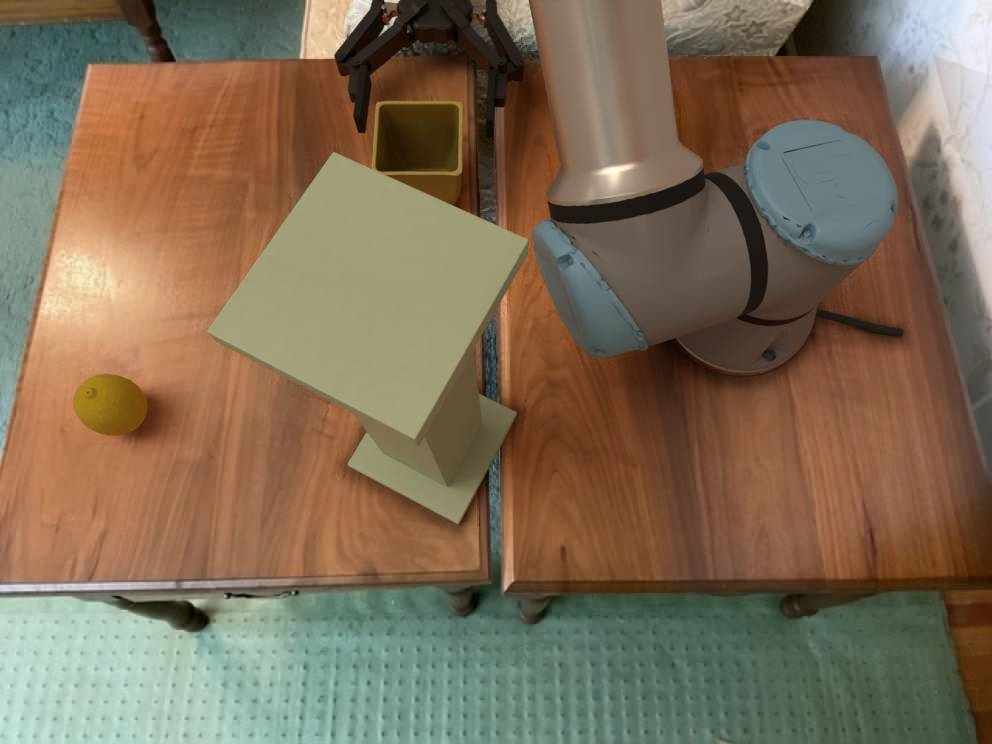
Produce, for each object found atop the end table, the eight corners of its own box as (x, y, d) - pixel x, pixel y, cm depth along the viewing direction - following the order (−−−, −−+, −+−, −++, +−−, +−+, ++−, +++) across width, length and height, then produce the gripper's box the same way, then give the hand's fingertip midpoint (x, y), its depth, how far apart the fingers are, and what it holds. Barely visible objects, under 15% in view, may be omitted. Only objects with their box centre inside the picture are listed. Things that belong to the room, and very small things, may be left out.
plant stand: (517, 415, 68) (529, 239, 36) (458, 525, 65) (415, 440, 33) (411, 362, 70) (333, 150, 38) (348, 466, 67) (205, 331, 35)
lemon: (102, 446, 68) (51, 425, 60) (108, 391, 69) (60, 364, 62) (159, 442, 68) (116, 420, 60) (164, 388, 69) (122, 360, 62)
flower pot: (467, 155, 78) (463, 99, 70) (466, 223, 75) (462, 173, 67) (389, 156, 78) (375, 100, 70) (385, 224, 75) (370, 174, 67)
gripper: (546, 2, 83) (542, 153, 76) (337, -3, 83) (314, 145, 76) (550, -55, 75) (546, 105, 69) (322, -61, 76) (295, 97, 69)
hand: (424, 127), depth 72 cm, fingers open, 13 cm apart
